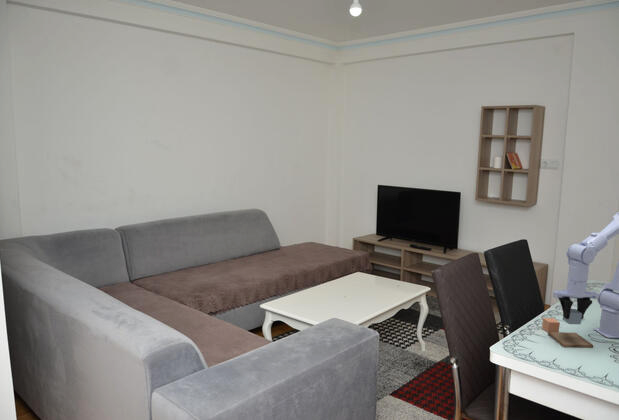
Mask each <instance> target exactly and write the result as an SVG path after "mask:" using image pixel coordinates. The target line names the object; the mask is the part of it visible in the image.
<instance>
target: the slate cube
mask: <svg viewBox="0 0 619 420" xmlns="http://www.w3.org/2000/svg"><path fill="white" fill-rule="evenodd" d="M581 318H582V313H581V312H579V311H578V310H577V308H571V310H570V316H569V319H566V318H564V316H563V315H562V321H564V322H565V323H566V324H568V325H581V323H582V319H583V318H582V319H581Z"/></svg>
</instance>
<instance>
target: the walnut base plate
mask: <svg viewBox="0 0 619 420" xmlns="http://www.w3.org/2000/svg"><path fill="white" fill-rule="evenodd" d="M547 336H549V337H550V338H551V339H553V340H554V341H555V342H556V343H558V344H559V345H560V346H561V347H563V348H573V349H574V348H575V349H576V348H577V349H582V348H583V349H585V348H587V349H593V348H594V344H593V343H591V342H589V341H588V340H587V339H585V338H584V337H583V336H581V334H578V333H577V332H560V331H559V332H548V333H547Z"/></svg>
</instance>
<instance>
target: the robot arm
mask: <svg viewBox="0 0 619 420" xmlns="http://www.w3.org/2000/svg"><path fill="white" fill-rule="evenodd" d="M617 235H619V211H618V212H616V213H615V215H613V216H612V219H611V222H610V223H609V224H608V225H606V226H605V227H604V228H603V229H602V230H601V231H599V232H591V233H590V235H589V236H587V237H586V238H584V239H583V240H582V241H580V242H579V243H574V244H571V245H570V246H569V247H568V248H567V251H566V258H567V260H568V261H567V263H568V265H569V266H568V267H569V268H568V273H567V274H568V275H567V282H566V284H567V285H566V289H563V290H561V289H560V290H553V291H552V297H553V298H555V299H558V300H559V303H560V305H561V309H562V317H563V316H564V318H566V319H569V316H570V310H571V309H572V307H573V304H574V301H572V300H571V299H576V306H577V307H576V310H578V311H579V312H581V313H582V318H581V320H583V319H584V318H583V316H584V315H585V313H586V311H588V309H589V307H590V306H591V305H592V304H593V300H591V299H594V300H596V301H597V303H598V305H599V308H601V313H600V319H599V327H593V330H594V331H596V332H597V333H599V334H600V335H601V336H604V337H605V338H608V339H619V260H617V261H618V262H617V264H616V267H615V270H614V273H613V275H612V279H611V281H610V282H607V283H605V284H603V285H602V288H601V290H600V291H599V292H596V291H587V286H588V285H587V284H588V277H589V268H590V264H591V263H593V261H594V260H595V258H596V256H597V255H598V253H600V251H601V250H603V249H604V248H606V247H607V246H608V242H609V240H611V239H613V238H614V237H616V236H617Z"/></svg>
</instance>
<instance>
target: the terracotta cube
mask: <svg viewBox="0 0 619 420" xmlns="http://www.w3.org/2000/svg"><path fill="white" fill-rule="evenodd" d="M560 324H561V322H559V321H558V320H557V319H556V318H555V317H552V318H551V317H543V318H542V325H541V330H544V331H545V332H546V333H547V334H548V332H560Z"/></svg>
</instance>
